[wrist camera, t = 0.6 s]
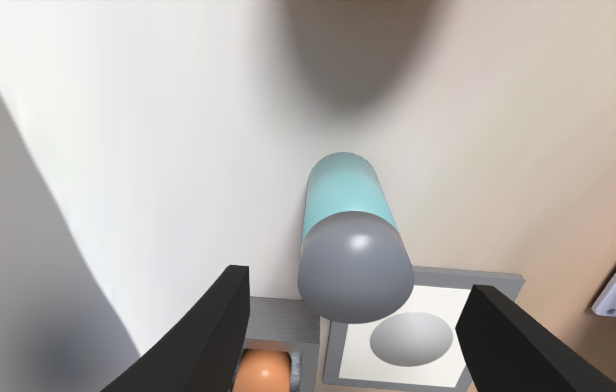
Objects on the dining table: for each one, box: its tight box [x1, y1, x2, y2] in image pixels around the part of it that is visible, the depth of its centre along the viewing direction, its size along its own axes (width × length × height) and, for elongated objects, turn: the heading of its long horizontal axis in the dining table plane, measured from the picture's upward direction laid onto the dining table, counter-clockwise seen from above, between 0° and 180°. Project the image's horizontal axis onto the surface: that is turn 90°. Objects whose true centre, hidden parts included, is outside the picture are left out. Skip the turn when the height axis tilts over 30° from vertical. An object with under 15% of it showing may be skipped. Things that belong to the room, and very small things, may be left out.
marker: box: [298, 152, 415, 324], centre depth 14 cm, size 4×4×8 cm
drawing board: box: [323, 266, 525, 392], centre depth 23 cm, size 12×13×1 cm
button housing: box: [229, 297, 320, 392], centre depth 22 cm, size 7×7×3 cm
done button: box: [233, 349, 292, 392], centre depth 20 cm, size 4×4×2 cm
